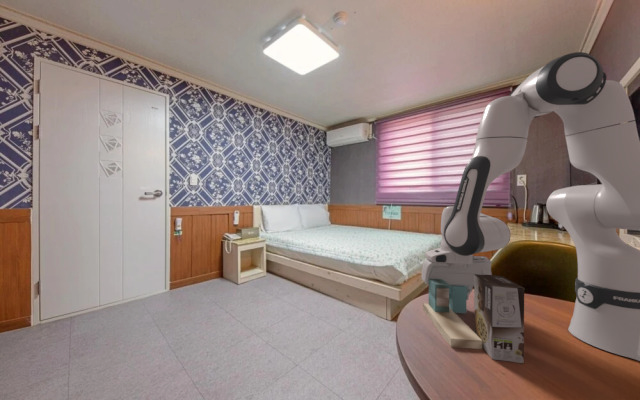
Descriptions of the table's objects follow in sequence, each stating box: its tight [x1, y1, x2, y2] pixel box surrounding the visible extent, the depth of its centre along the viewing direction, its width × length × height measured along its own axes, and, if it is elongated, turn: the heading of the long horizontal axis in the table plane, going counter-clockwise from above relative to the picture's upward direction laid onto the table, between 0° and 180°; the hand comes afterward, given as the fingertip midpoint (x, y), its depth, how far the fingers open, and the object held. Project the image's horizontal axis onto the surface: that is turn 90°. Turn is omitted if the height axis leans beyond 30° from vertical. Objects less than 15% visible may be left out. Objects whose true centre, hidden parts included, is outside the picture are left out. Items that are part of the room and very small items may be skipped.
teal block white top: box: [449, 285, 468, 314], centre depth 75 cm, size 4×6×8 cm
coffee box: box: [473, 274, 526, 364], centre depth 55 cm, size 9×6×16 cm
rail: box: [422, 279, 483, 350], centre depth 64 cm, size 7×19×10 cm, turn 175°
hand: (455, 298), depth 75 cm, fingers closed on teal block white top, 4 cm apart
